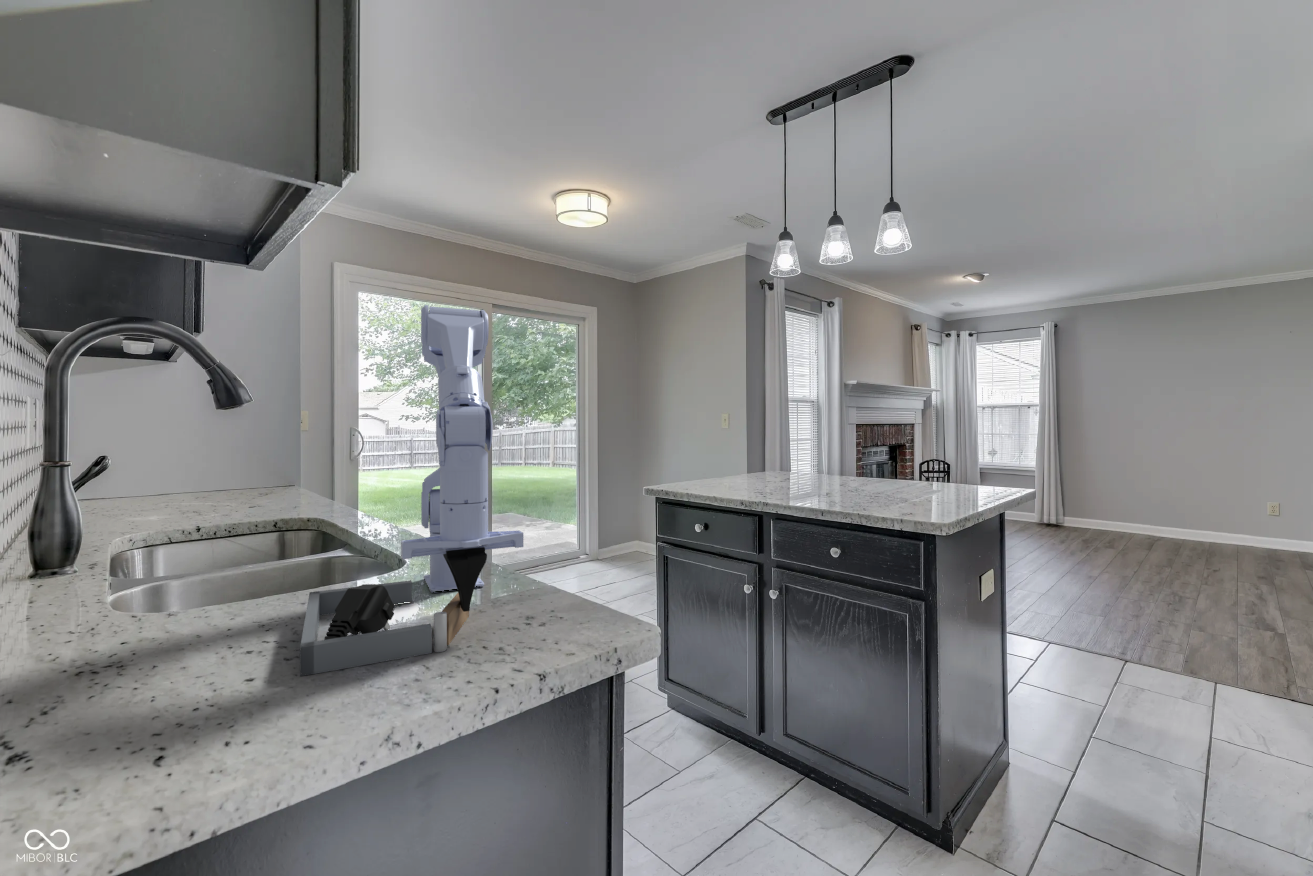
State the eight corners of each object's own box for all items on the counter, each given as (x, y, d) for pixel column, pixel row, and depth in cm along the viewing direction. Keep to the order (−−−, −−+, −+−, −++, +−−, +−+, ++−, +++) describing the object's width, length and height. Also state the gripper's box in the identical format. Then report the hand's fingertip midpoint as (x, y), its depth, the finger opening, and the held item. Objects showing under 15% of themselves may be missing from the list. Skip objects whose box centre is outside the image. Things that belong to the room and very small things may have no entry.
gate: (448, 645, 67) (448, 615, 67) (438, 645, 67) (438, 615, 67) (469, 616, 77) (469, 590, 77) (460, 616, 77) (460, 590, 77)
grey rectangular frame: (309, 614, 77) (309, 583, 77) (423, 599, 84) (423, 570, 84) (300, 677, 58) (299, 636, 58) (447, 650, 65) (447, 614, 65)
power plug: (289, 661, 60) (346, 571, 70) (317, 698, 65) (367, 609, 74) (340, 663, 60) (390, 572, 69) (365, 700, 64) (408, 610, 74)
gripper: (404, 509, 64) (405, 628, 64) (530, 501, 71) (530, 609, 71) (398, 502, 70) (399, 611, 70) (515, 495, 77) (515, 595, 78)
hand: (464, 609), depth 71 cm, fingers closed, pressing on gate
